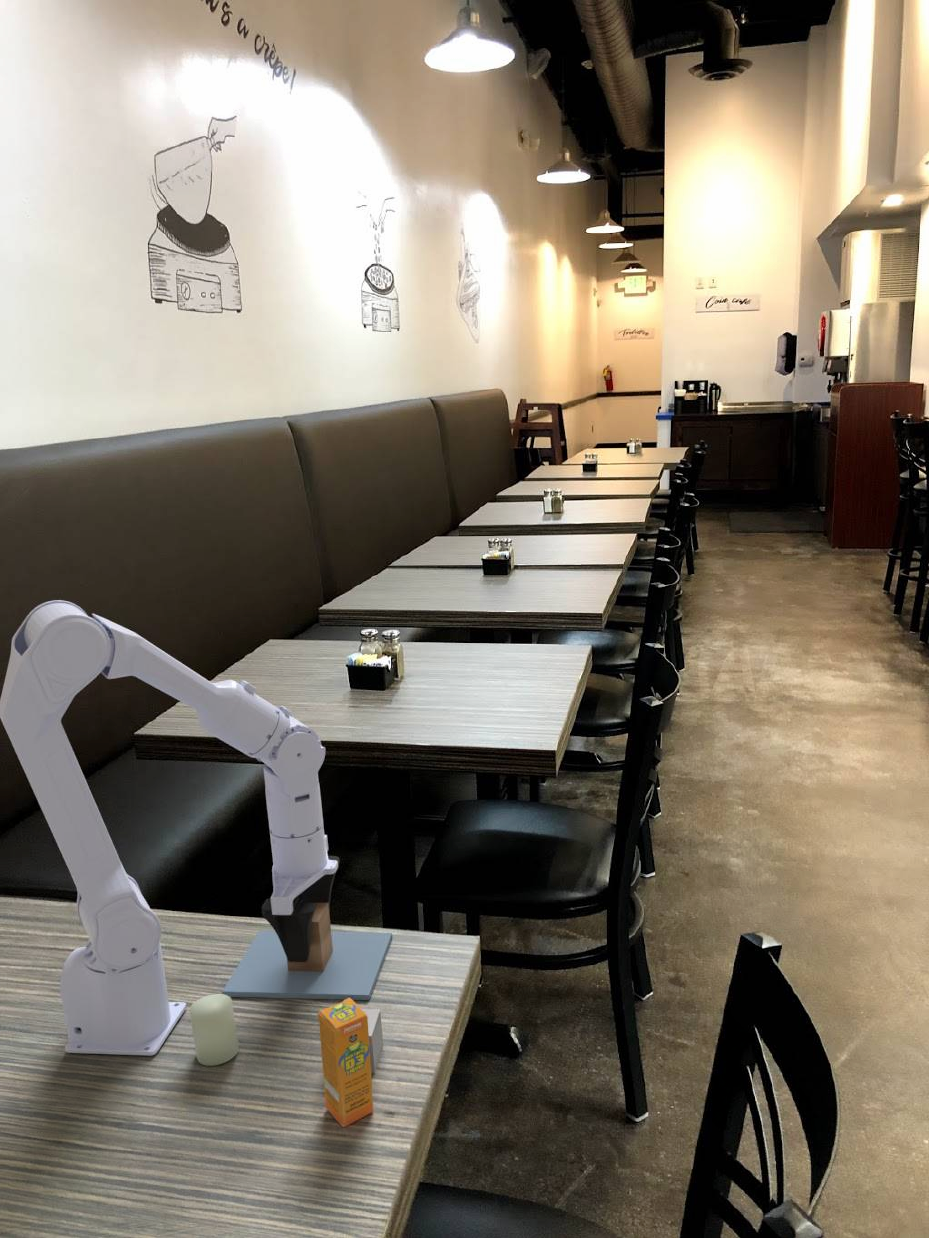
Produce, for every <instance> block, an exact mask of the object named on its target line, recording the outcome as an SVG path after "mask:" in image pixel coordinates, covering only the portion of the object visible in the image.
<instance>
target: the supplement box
mask: <svg viewBox="0 0 929 1238" xmlns="http://www.w3.org/2000/svg"><path fill="white" fill-rule="evenodd" d="M362 1009H363V1008H361V1007H360V1006H359V1005H358V1004H357V1003H356V1002H355V1000H352V999H351V998H347V999H345V1000H342V1001H341V1002H339V1003H337V1004H334V1005H332V1006H330V1007H325V1008H323V1009H320V1010H319V1011H318V1012H317V1016H318V1017H317V1018H318V1026H319V1040H320V1053H321V1062H322V1075H323V1076H322V1077H323V1088H324V1089H323V1090H324V1101H325V1102H324V1103H325V1108H326V1110H327V1111H328V1112H329V1113H330V1114H331V1115H332V1117H333V1118H334V1119H335V1120H336V1121H337V1122H338V1124H339V1125H340V1126H341V1127H342V1128H346V1127H348V1126H349V1125H351V1124H353V1123H355V1122H357V1121H358V1120H360V1119H363V1118H364V1117H366V1116H368V1115H370V1114H372V1113H373V1112H374V1102H373V1101H374V1100H373V1085H372V1084H373V1082H372V1081H373V1079H372V1073H371V1064H370V1048H369V1032H368V1018H367V1015H366V1013H365V1012H364V1011H363V1010H362Z"/></svg>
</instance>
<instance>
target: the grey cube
mask: <svg viewBox="0 0 929 1238" xmlns="http://www.w3.org/2000/svg"><path fill="white" fill-rule="evenodd" d="M361 1009H362V1010H363V1011H364V1012H365V1013H366V1015H367V1018H368V1032H369V1048H370V1064H371V1074H375V1073H376V1071H377V1068H378V1064H379V1062H380V1059H381V1058H380V1057H381V1054H382V1052H383V1048H384V1037H383V1026H382V1015H381V1009H380V1008H372V1009H371V1008H361Z"/></svg>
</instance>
